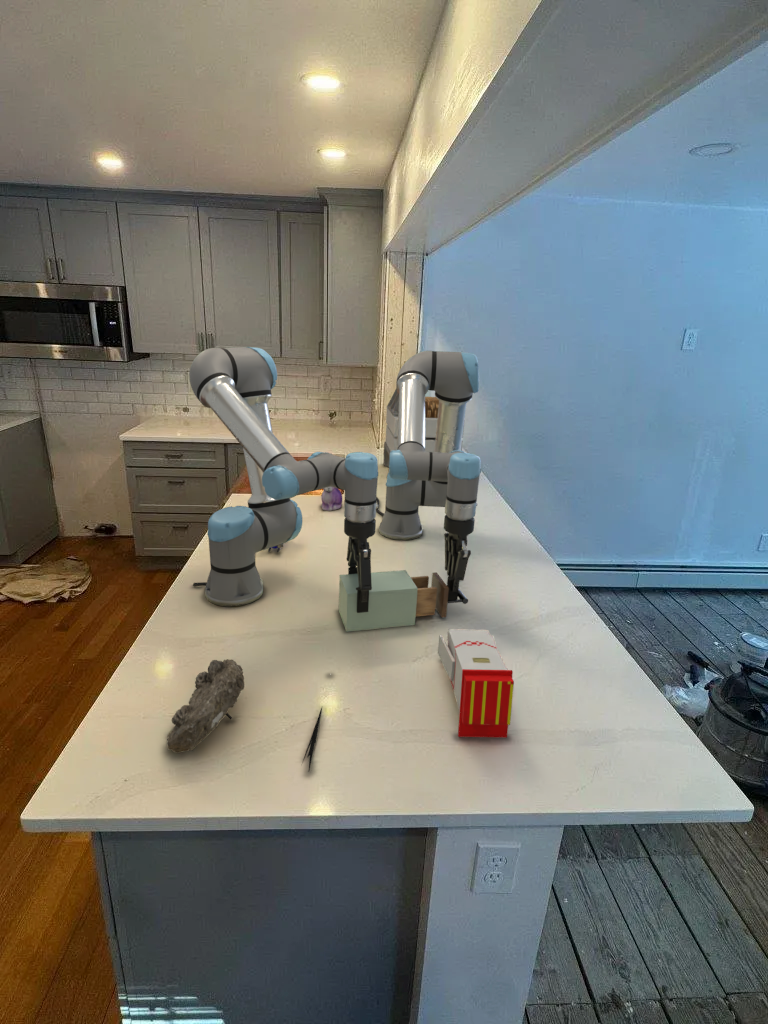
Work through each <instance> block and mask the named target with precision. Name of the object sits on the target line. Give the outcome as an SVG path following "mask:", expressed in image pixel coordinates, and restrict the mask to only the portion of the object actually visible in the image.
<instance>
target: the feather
mask: <svg viewBox="0 0 768 1024" xmlns="http://www.w3.org/2000/svg"><path fill="white" fill-rule="evenodd" d="M329 675H330V676H331V675H332V674H331V673H330V674H329ZM322 710H323V707H321V708H320V710H319V713H318V716H317V719H316V723H315V725H314V728H313V731H312V733H311V737H310V739H309V742H308V745H307V748H306V751H305V754H304V757H303V760H302V763H301V767H302V765H303V763H304V761H305V758H308V759H309V760H308V762H307V763H308V764H307V766H308V771H310V770H311V766H312V765H311V764H312V760H313V757H315V756H314V755H315V751H316V749H315V746H317V739H318V733H319V729H320V722H321V717H322V712H323V711H322ZM313 754H314V755H313ZM306 755H307V757H306Z"/></svg>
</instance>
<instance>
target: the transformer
mask: <svg viewBox="0 0 768 1024" xmlns="http://www.w3.org/2000/svg"><path fill="white" fill-rule="evenodd" d="M438 407H439V400H438V399H437V398H436V397H435V396H425V452H434V448H435V438H436V428H437V418H438ZM385 414H386V415H385V423H386V428H385V438H384V442H383V466H384V467H388V468H389V460H390V452H391V451H392V450H397V438H398V414H399V393H398V392H397V389H396V388H395V390H394V392H393V394H392V395H391V398H390V400H389V402H388V404H387V405H386V413H385ZM464 422H465V419H464ZM464 429H465V426H464V427H463V434H462V439H463V438H464V431H465V430H464ZM463 442H464V441H463V440H462V442H461V451H463Z"/></svg>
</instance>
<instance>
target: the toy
mask: <svg viewBox="0 0 768 1024" xmlns="http://www.w3.org/2000/svg"><path fill="white" fill-rule="evenodd" d="M446 640H447V643H446V641H445V639H444V636H443V635H442V634H439V637H438V646H437V656H438V657H439V659H440V661H441V663H442V666H443V668H444V670H445V672H446V674H447V677H448V679H449V681H450V684H451V687H452V690H453V693H454V697H455V701H456V705H457V708H458V711H459V714H458V715H459V716H458V730H457V731H458V732H457V737H458V738H508V731H509V726H510V725H511V717H512V707H513V697H514V696H513V695H514V684H515V680H514V679H513V673H514V671H513V670H512V669H508V667H507V665H506V662H505V661H504V659H503V658H502V655H501V653H500V651H499V649H498V647H497V643H496V639H495V637H494V635H493V634H491V632H490V631H489V629H467V628H466V629H465V628H463V629H461V628H460V629H459V628H448V630H447V639H446Z"/></svg>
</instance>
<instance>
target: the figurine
mask: <svg viewBox="0 0 768 1024" xmlns="http://www.w3.org/2000/svg"><path fill="white" fill-rule="evenodd" d="M322 490H323V491H322V493H321V497H320V498H321V504H320V505H321V506H320V507H321V510H323V511H335V510H338V509H340V508H342V505H343V495H342V492H341V491H340V490H341V489H338V488H334V487H326V488H323V489H322Z"/></svg>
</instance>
